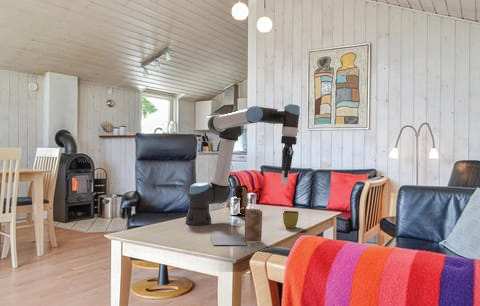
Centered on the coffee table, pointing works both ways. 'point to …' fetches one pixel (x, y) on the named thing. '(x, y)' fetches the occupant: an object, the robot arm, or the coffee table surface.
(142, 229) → the coffee table surface
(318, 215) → the coffee table surface
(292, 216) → the flower pot
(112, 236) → the coffee table surface
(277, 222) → the coffee table surface
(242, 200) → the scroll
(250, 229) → the walnut block
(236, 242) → the mat
